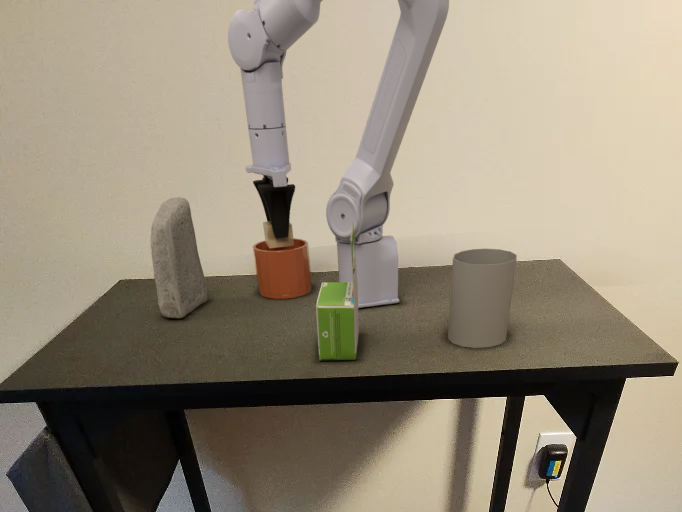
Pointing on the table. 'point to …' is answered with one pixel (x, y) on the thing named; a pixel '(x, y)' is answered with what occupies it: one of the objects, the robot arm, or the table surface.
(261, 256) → the cup
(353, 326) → the ink box
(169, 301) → the decorative stone
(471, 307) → the cup
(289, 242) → the beige cube
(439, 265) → the table surface
